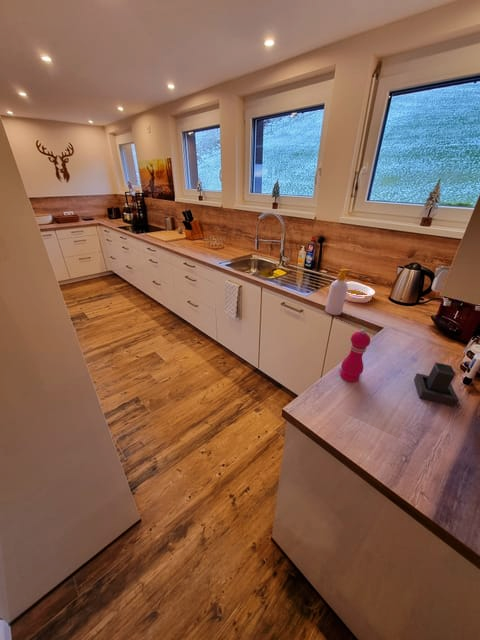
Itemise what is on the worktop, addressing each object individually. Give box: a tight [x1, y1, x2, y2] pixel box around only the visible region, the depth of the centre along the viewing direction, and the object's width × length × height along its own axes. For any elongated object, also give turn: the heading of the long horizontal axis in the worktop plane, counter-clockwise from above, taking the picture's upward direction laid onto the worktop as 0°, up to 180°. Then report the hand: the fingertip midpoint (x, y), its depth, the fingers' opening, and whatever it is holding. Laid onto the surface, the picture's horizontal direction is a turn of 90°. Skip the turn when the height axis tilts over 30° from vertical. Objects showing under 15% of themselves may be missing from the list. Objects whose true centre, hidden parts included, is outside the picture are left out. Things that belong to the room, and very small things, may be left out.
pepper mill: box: [340, 328, 371, 383], centre depth 91 cm, size 7×7×20 cm
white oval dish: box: [345, 280, 376, 303], centre depth 162 cm, size 29×22×5 cm
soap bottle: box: [324, 268, 354, 316], centre depth 137 cm, size 9×9×24 cm
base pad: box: [413, 372, 459, 408], centre depth 89 cm, size 10×10×3 cm
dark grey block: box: [425, 361, 456, 394], centre depth 87 cm, size 5×5×10 cm
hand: (462, 308), depth 92 cm, fingers open, 8 cm apart
